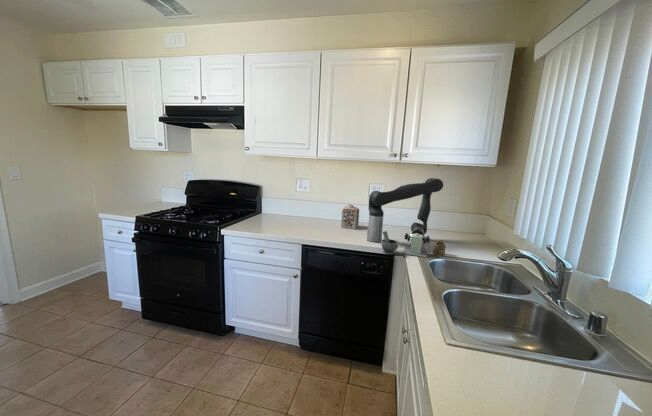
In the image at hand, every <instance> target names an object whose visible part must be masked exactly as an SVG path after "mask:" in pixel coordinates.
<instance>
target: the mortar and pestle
mask: <svg viewBox="0 0 652 416" xmlns="http://www.w3.org/2000/svg"><path fill="white" fill-rule="evenodd" d="M382 236H383V239H382V240H381V243H380V244H381V248H382V250H383V253H384V254H385V255H394V254H395V251H396V250H397V249H398V247H399V242H398V241H397V240H395V239H392V238H391V239H390V238H389V235H388V231H387V230H384V231H382Z"/></svg>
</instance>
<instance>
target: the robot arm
mask: <svg viewBox="0 0 652 416" xmlns="http://www.w3.org/2000/svg"><path fill="white" fill-rule="evenodd" d="M443 188H444V182H443V181H442V180H441V179H440V178H437V177H436V178H433V177H432V178H431V177H429V178H428V179H426V180H425V182H421V183H418V182H417V183H408V184H405V185H403V184H402V185H400V186H399V187H397V188H395V189H393V190H391V191H390V190H389V191H379V190H373V191H372V192H371V193H369V197H368V213H369V214H368V215H369V216H368V219H369V220H368V226H367V232H366V233H367V235H366V241H369V242H371V243H380V242H381V241H382V240H383V239H382V238H383V228H384V227H383V226H384V225H383V224H384V215H385V214H384V210H383V207H382V206H385V205H388V204H390V203H394V202H399V201H404V200H408V199H412V198H415V197H418V196H421V197H422V198H421V201H420V202H421V204H420V206H419V211H418V212H417V216H416V217H417V219H418V220H419V221H420V222H422V223H419V222H413V223H412V224H411V226H410V231H411V234H409V233H407V232H406V233H404V240H405V241H407V242H408V243H409V242H411V236H412V234H415V233H418V234H420V235H423V237H422V244H427V243H430V236H429V235H427V236H425V235H426V233H427V232H428V220H429V216H430V212H431V198H432V197H431V196H432V195H433V193H438V192H440V191H442V189H443Z"/></svg>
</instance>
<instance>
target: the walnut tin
mask: <svg viewBox="0 0 652 416" xmlns="http://www.w3.org/2000/svg"><path fill="white" fill-rule="evenodd" d="M446 248H447V247H446V243H445V240H441V239H436V242H435V241H434V244H433V251H432V253H433V254H432V255H433V256H438V255H439V256H440V257H445V256H446V255H445V254H446Z"/></svg>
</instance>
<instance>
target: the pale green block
mask: <svg viewBox="0 0 652 416" xmlns="http://www.w3.org/2000/svg"><path fill="white" fill-rule="evenodd" d="M411 234H412V233H411ZM422 237H423V235H420V234H418V233H415V234H412V236H411V240H410V247H409V248H410V253H417V254H421V249H422V244H423V242H422Z"/></svg>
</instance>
